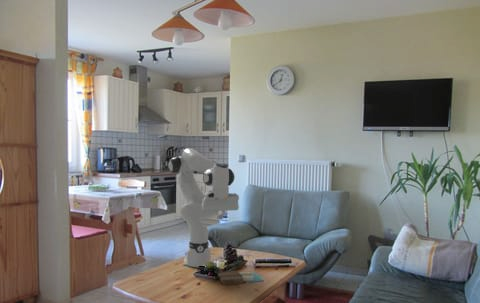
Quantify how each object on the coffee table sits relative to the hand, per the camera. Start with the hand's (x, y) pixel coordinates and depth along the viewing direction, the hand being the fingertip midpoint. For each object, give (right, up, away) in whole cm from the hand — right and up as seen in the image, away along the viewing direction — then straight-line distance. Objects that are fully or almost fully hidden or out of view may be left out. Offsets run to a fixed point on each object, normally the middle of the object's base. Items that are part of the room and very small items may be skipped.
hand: (220, 218), depth 207 cm
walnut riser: (+6, -34, +2) cm, 35 cm away
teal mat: (+17, -34, +6) cm, 39 cm away
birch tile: (+14, -34, +4) cm, 37 cm away
